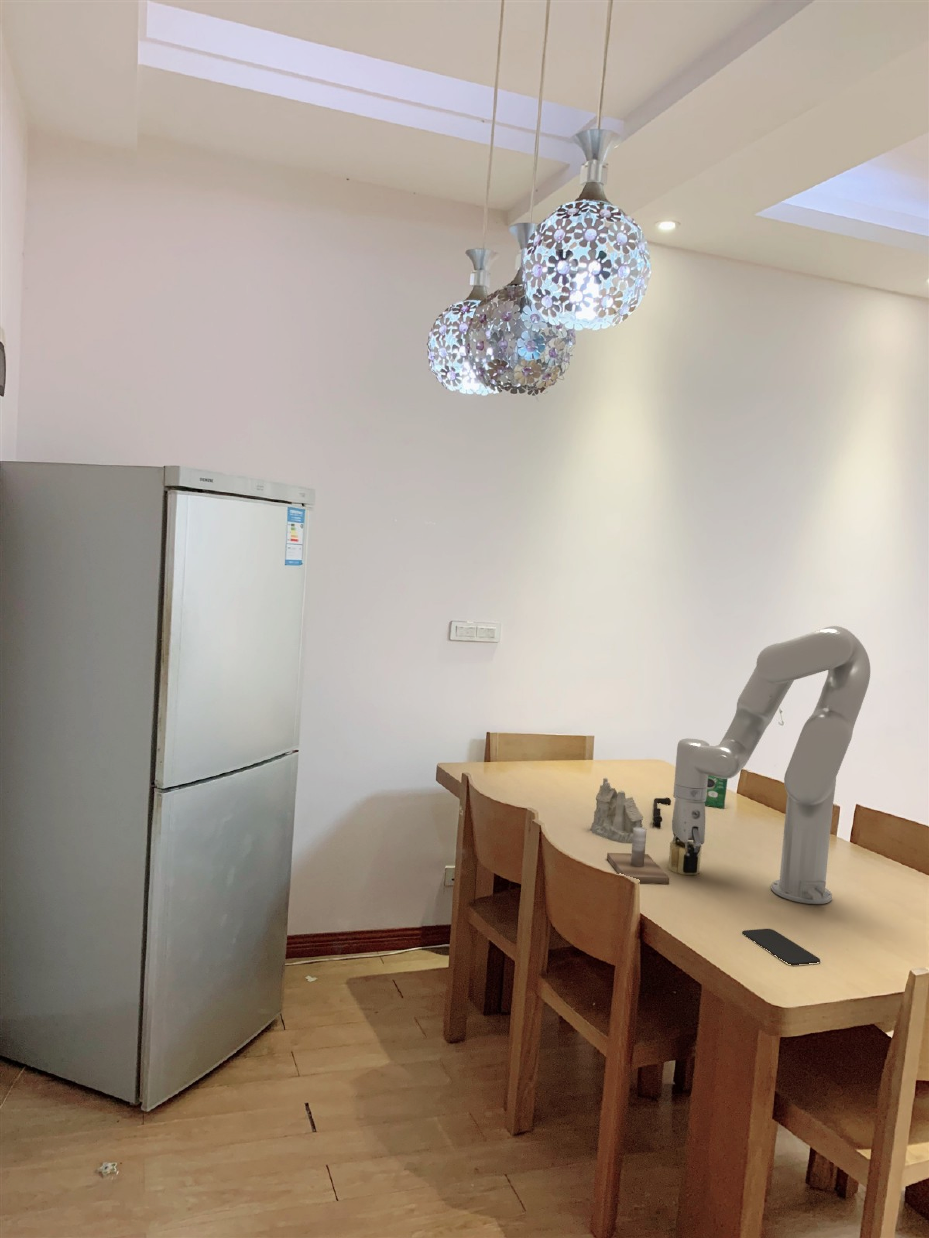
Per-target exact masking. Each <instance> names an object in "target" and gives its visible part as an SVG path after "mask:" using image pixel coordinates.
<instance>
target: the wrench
mask: <svg viewBox="0 0 929 1238" xmlns="http://www.w3.org/2000/svg"><path fill="white" fill-rule="evenodd" d="M657 803H658V804H659V803H661V805H665V804H668V805H667V806H670V805H671V803H672V800H671V798H670V797H664V798H662V797H655V798H654V799H653V810H652V811H653V815H652V816H653V818H652V820H653V824H654V825H653V826H654V827H659V828H660V827H662V825H661V824H662V822H663V817H662V815H661V808H659V807H658V804H657ZM669 804H670V805H669ZM659 805H660V804H659Z"/></svg>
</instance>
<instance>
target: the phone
mask: <svg viewBox="0 0 929 1238" xmlns="http://www.w3.org/2000/svg"><path fill="white" fill-rule="evenodd" d="M741 933H742V935H743V934H744V935H746V936H745V938H747V937H748V938H747V939H749V938H750V939H751V940H753V941H755V942H756V943H757V944H759V945H760V946H762V947H763V948H765V949H767V950H768V951H770V952H771V953H772V954H773V955H776V956H777V957H778V958H780V959H782V960H783V961H785V962H787V963H788V964H791V965H799V964H809V963H817V962H820V963H821V959H820V957H817V956H816V955H815V954H813V953H811V952H810V951H808V950H807V949H805V948H803V946H800V945H798V944H797V943H795V942H794V941H793V940H791V939H789V938H788V937H786V936H785V935H783V934H782V933H779V932H778V931H776V930H775V929H773V928H758V929H745V930H742V931H741ZM744 935H743V936H744ZM750 939H749V940H750ZM751 940H750V941H751ZM753 941H752V942H753ZM756 943H755V944H756ZM757 944H756V945H757ZM759 945H758V946H759ZM760 946H759V947H760ZM762 947H761V948H762ZM763 948H762V949H763ZM772 954H771V955H772ZM773 955H772V956H773Z"/></svg>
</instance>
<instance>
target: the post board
mask: <svg viewBox="0 0 929 1238" xmlns="http://www.w3.org/2000/svg"><path fill="white" fill-rule="evenodd" d="M646 843H647V828H645V827H643V826H642V827H634V828H633V841H632V844H631V853H628V852H627V853H626V852H625V853H624V852H623V853H622V852H621V853H620V852H607V855H606V859H607V861H608V863H609V864H610V865H611V866H612V867H613V869H614V870H615V872H616V873H617V874H618V873H621V874H624V875H626V876H630V877H633V878H636V879H639V880H640V883H639V884H644V883H665V884H664V885H670V877H669V876H668V874H666V872H665V871H664V870H663V869H662V868H661V866H660V865H658V863H657V862H656V861H655V860H654V859H653V858H652V857H651V856H650V855H649V853H646Z"/></svg>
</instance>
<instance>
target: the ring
mask: <svg viewBox="0 0 929 1238" xmlns="http://www.w3.org/2000/svg"><path fill="white" fill-rule="evenodd" d="M688 842H693V840H688ZM669 843H670V844H669V852H668V853H669V854H668V855H669V856H668V867H667V868H668V869H669V871H671V872H673V873H676V874H679V875H685V876H694V875H699V874H698V873H700V872H701V861H702V860H701V859H702V858H701V857H702V848H703V847H702V845H701V848H700V851H699V856H698V864H697V872H696V873H684V872H683V861H684V855H686V852H685V843H684V842H682V841H681V840H674V841H673V840H671V842H669ZM691 847H693V846H692V845H689V850H690V848H691Z"/></svg>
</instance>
